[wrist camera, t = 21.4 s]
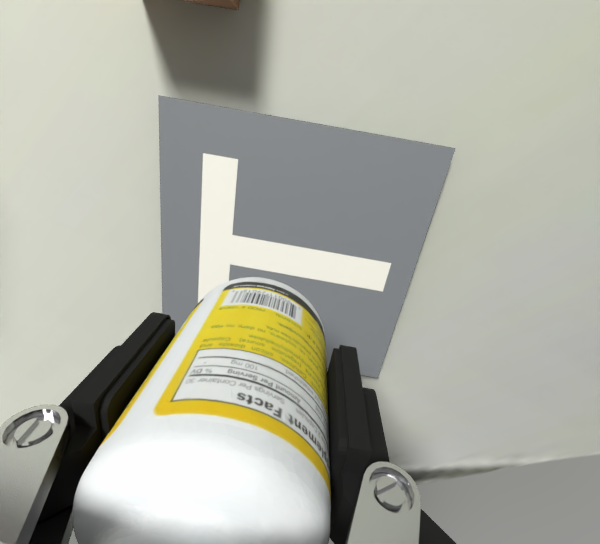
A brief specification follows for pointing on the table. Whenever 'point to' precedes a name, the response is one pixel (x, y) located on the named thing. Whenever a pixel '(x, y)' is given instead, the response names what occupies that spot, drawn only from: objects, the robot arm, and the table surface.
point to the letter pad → (295, 215)
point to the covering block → (218, 3)
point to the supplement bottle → (221, 432)
